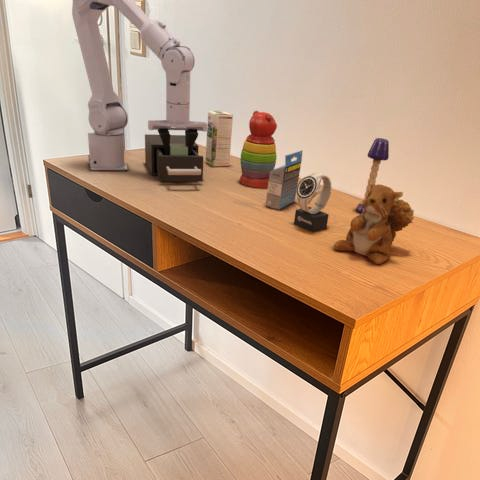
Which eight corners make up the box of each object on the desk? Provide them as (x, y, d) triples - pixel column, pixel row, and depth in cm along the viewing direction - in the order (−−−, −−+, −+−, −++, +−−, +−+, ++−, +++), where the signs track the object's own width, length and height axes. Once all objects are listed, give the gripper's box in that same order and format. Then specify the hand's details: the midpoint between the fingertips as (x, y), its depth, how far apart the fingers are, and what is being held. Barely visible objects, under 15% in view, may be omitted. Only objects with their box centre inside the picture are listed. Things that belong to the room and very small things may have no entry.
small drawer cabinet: (197, 175, 134) (198, 145, 130) (151, 175, 130) (151, 144, 126) (187, 163, 144) (188, 135, 140) (145, 163, 141) (144, 134, 137)
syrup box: (204, 162, 147) (206, 110, 140) (222, 161, 150) (225, 110, 142) (211, 166, 143) (214, 113, 136) (230, 166, 145) (233, 113, 138)
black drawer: (207, 187, 122) (208, 161, 119) (162, 187, 119) (161, 161, 116) (192, 169, 136) (193, 145, 133) (152, 168, 133) (151, 145, 130)
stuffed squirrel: (329, 250, 94) (341, 181, 88) (369, 235, 103) (383, 172, 96) (373, 268, 88) (390, 196, 82) (411, 250, 97) (430, 184, 91)
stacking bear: (284, 186, 130) (293, 115, 121) (252, 190, 125) (259, 115, 116) (261, 176, 138) (268, 108, 129) (230, 179, 133) (235, 108, 124)
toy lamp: (376, 210, 118) (392, 138, 110) (375, 216, 114) (392, 142, 106) (356, 207, 119) (370, 135, 111) (354, 213, 115) (369, 139, 107)
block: (170, 167, 125) (170, 147, 122) (167, 163, 128) (167, 143, 126) (187, 167, 126) (188, 147, 124) (184, 163, 130) (184, 143, 127)
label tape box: (281, 198, 121) (287, 146, 115) (296, 201, 120) (303, 149, 113) (264, 206, 115) (270, 152, 108) (280, 210, 113) (286, 155, 107)
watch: (287, 225, 105) (294, 173, 99) (312, 219, 109) (320, 169, 104) (306, 233, 101) (314, 180, 96) (332, 227, 106) (341, 175, 100)
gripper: (150, 104, 114) (151, 163, 121) (210, 106, 118) (208, 163, 125) (146, 99, 120) (147, 156, 127) (204, 102, 124) (202, 157, 131)
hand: (177, 159), depth 127 cm, fingers closed on block, 4 cm apart
